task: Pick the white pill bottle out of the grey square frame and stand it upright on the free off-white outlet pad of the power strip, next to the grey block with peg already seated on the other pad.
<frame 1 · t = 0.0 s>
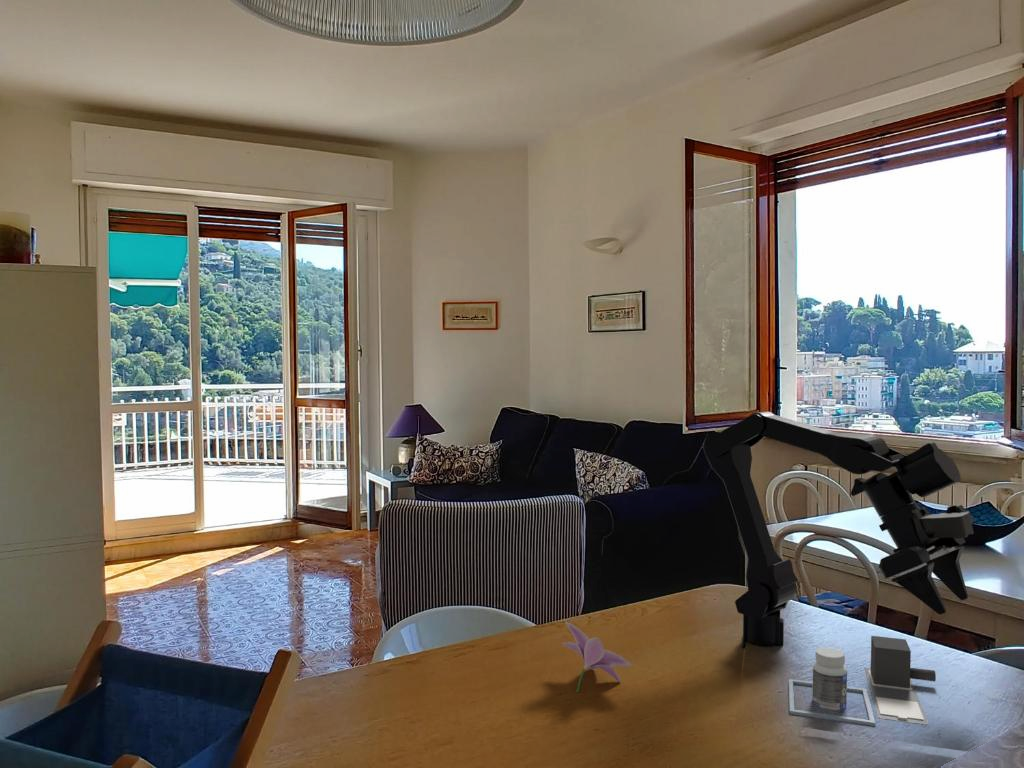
hand: (954, 606, 116), 15 cm above the table, tool tilted 35°, fingers open, 9 cm apart
grey block with peg: (889, 680, 123), resting on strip
grey square frame: (829, 707, 115), on the table
pill bottle: (829, 708, 115), resting in grey square frame
lily: (593, 685, 124), on the table
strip: (894, 699, 118), on the table
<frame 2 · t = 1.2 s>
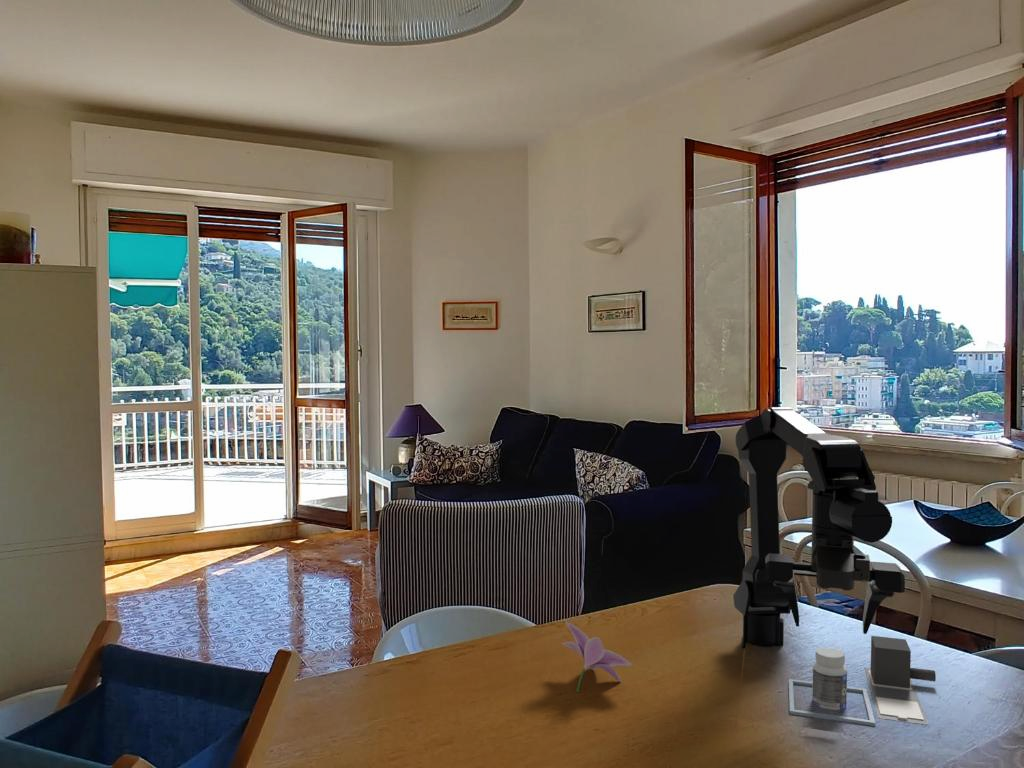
hand: (830, 629, 115), 12 cm above the table, tool pointing down, fingers open, 9 cm apart
nothing on the table moved.
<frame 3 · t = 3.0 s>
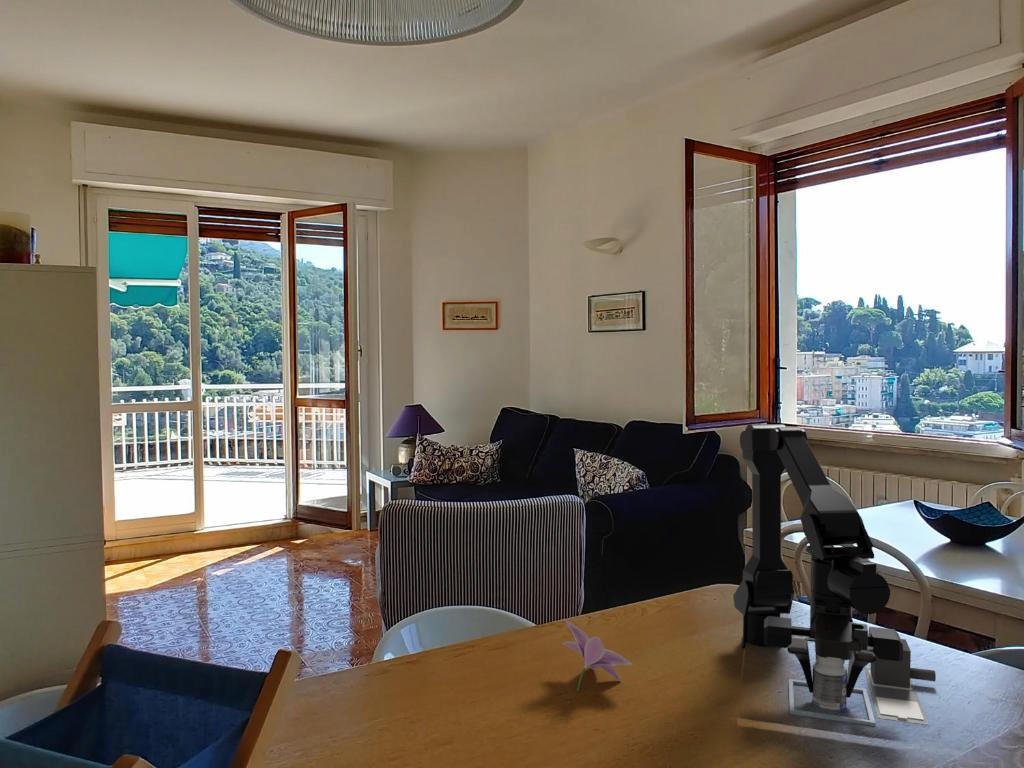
hand: (829, 694, 115), 2 cm above the table, tool pointing down, fingers closed on pill bottle, 5 cm apart
pill bottle: (829, 708, 115), resting in grey square frame, touching gripper
everything else where it was.
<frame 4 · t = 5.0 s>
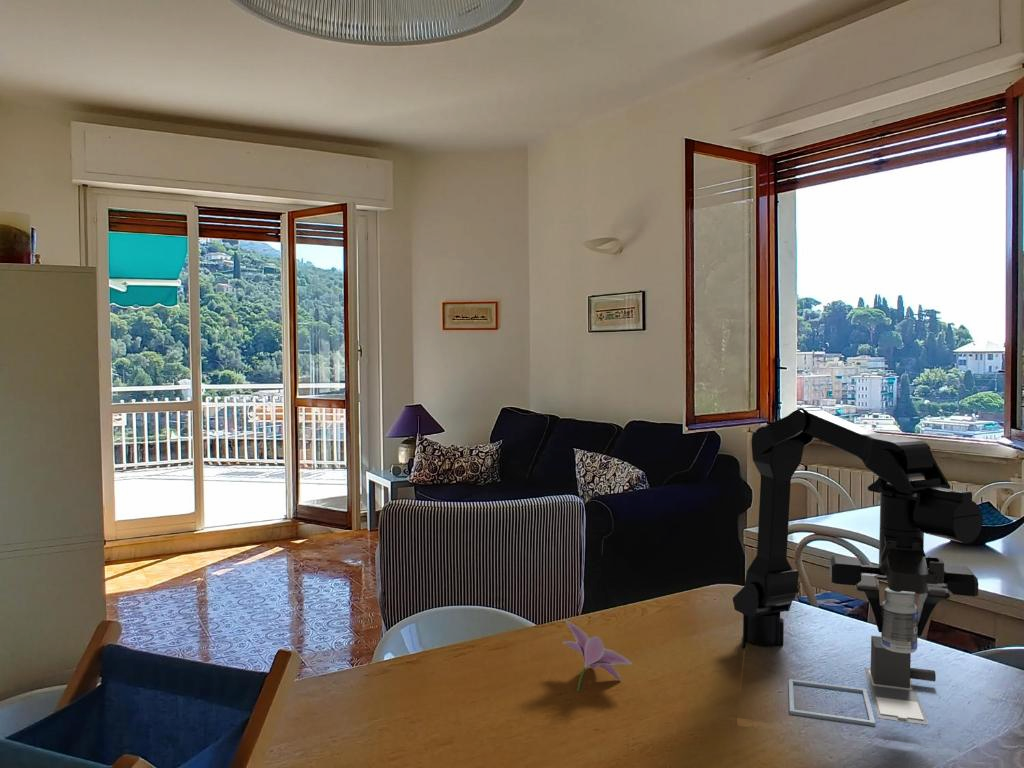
hand: (899, 633, 113), 12 cm above the table, tool pointing down, fingers closed on pill bottle, 5 cm apart
pill bottle: (898, 649, 113), point 10 cm above the table, touching gripper
everything else where it was.
when the fingers open (3 cm above the table, at t = 7.3 s): pill bottle stays where it is, resting on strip.
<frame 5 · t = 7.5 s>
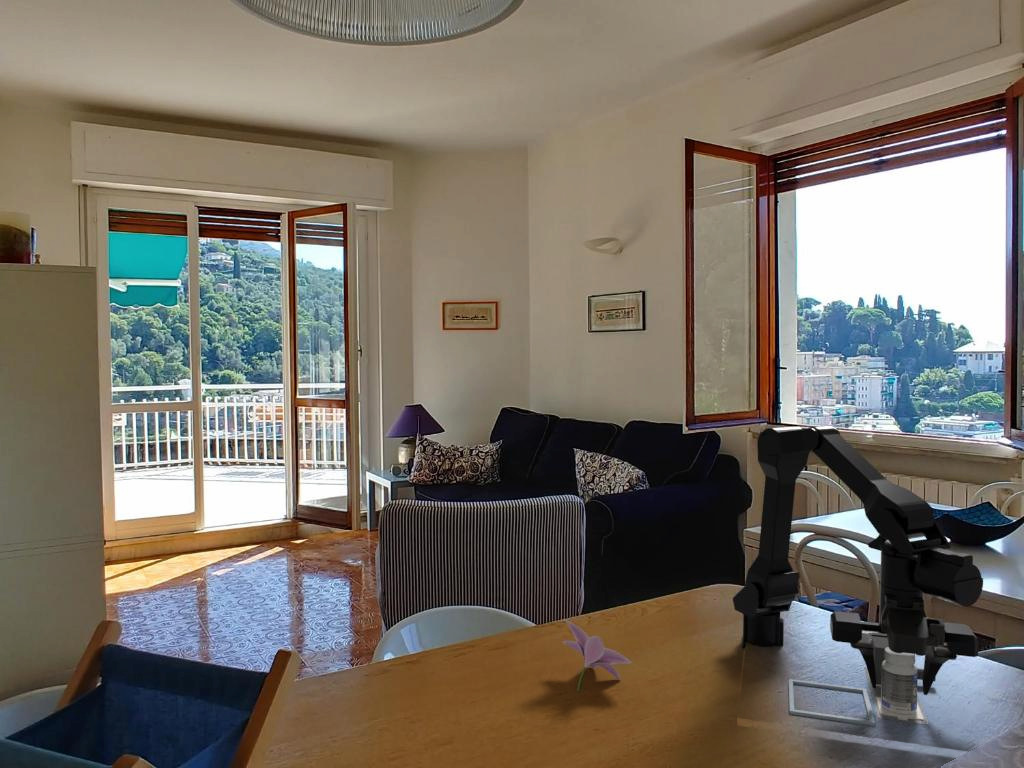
hand: (899, 690, 113), 3 cm above the table, tool pointing down, fingers open, 6 cm apart
pill bottle: (898, 708, 113), point 1 cm above the table, touching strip
everything else where it was.
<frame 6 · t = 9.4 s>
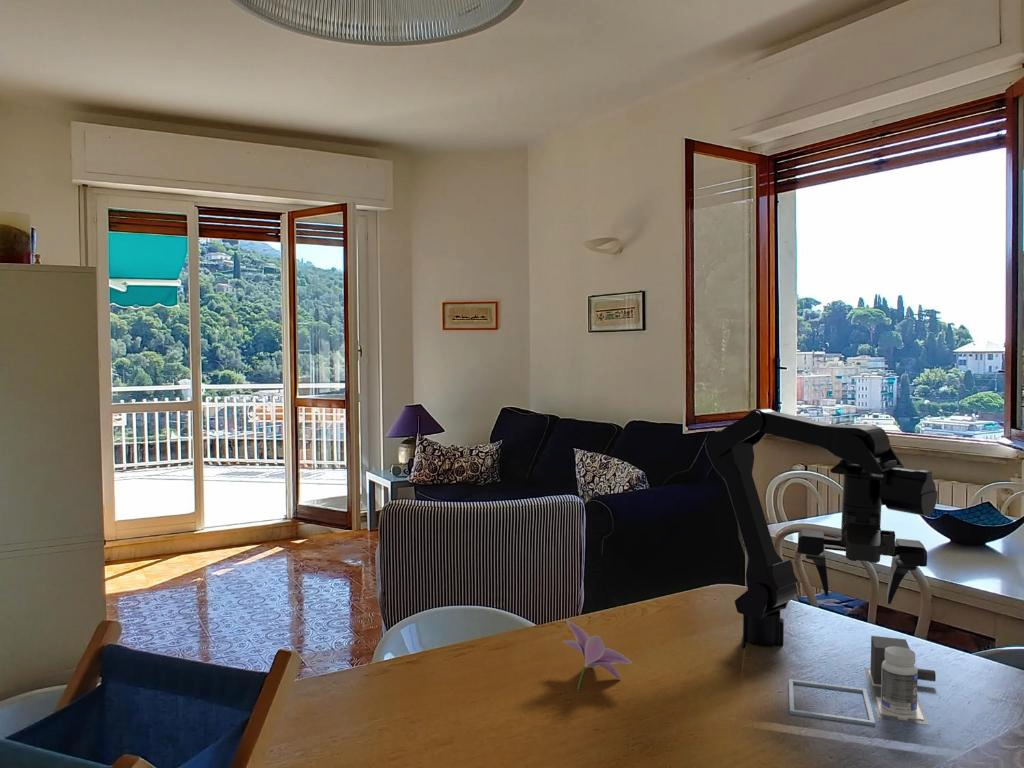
hand: (857, 599, 126), 13 cm above the table, tool pointing down, fingers open, 9 cm apart
nothing on the table moved.
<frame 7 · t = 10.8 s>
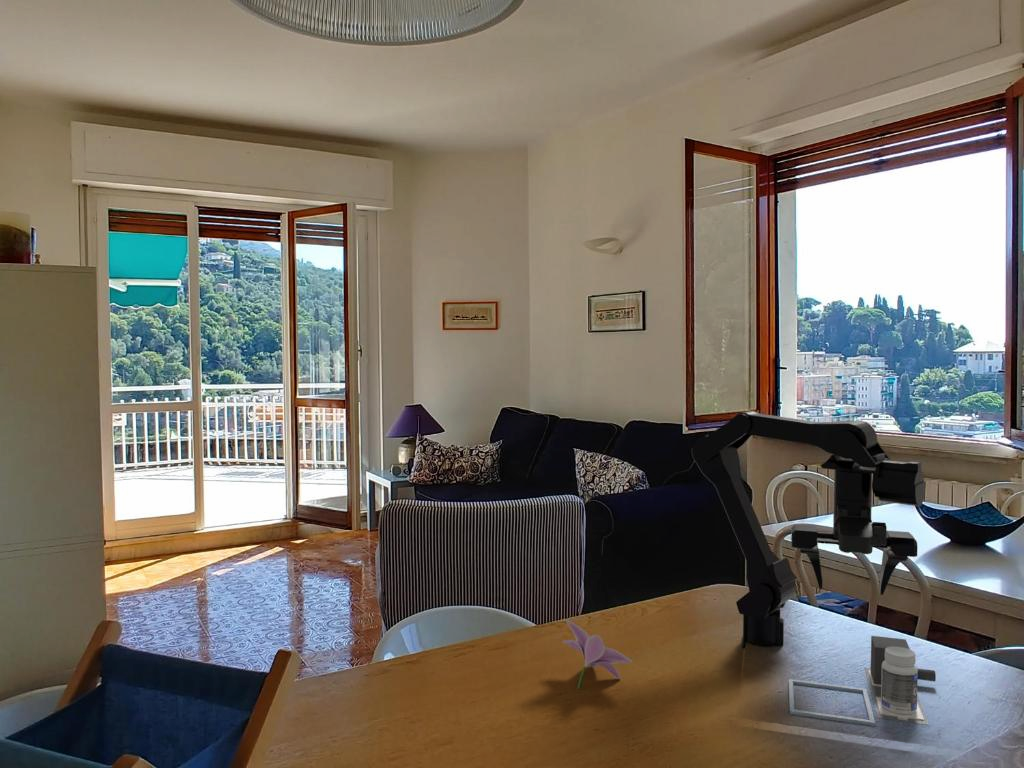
hand: (850, 591, 129), 13 cm above the table, tool pointing down, fingers open, 9 cm apart
at the end: pill bottle 0.1 cm from the target spot on the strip, point 0.8 cm above the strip's base; pill bottle tilted 0°; the gripper is holding nothing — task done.
